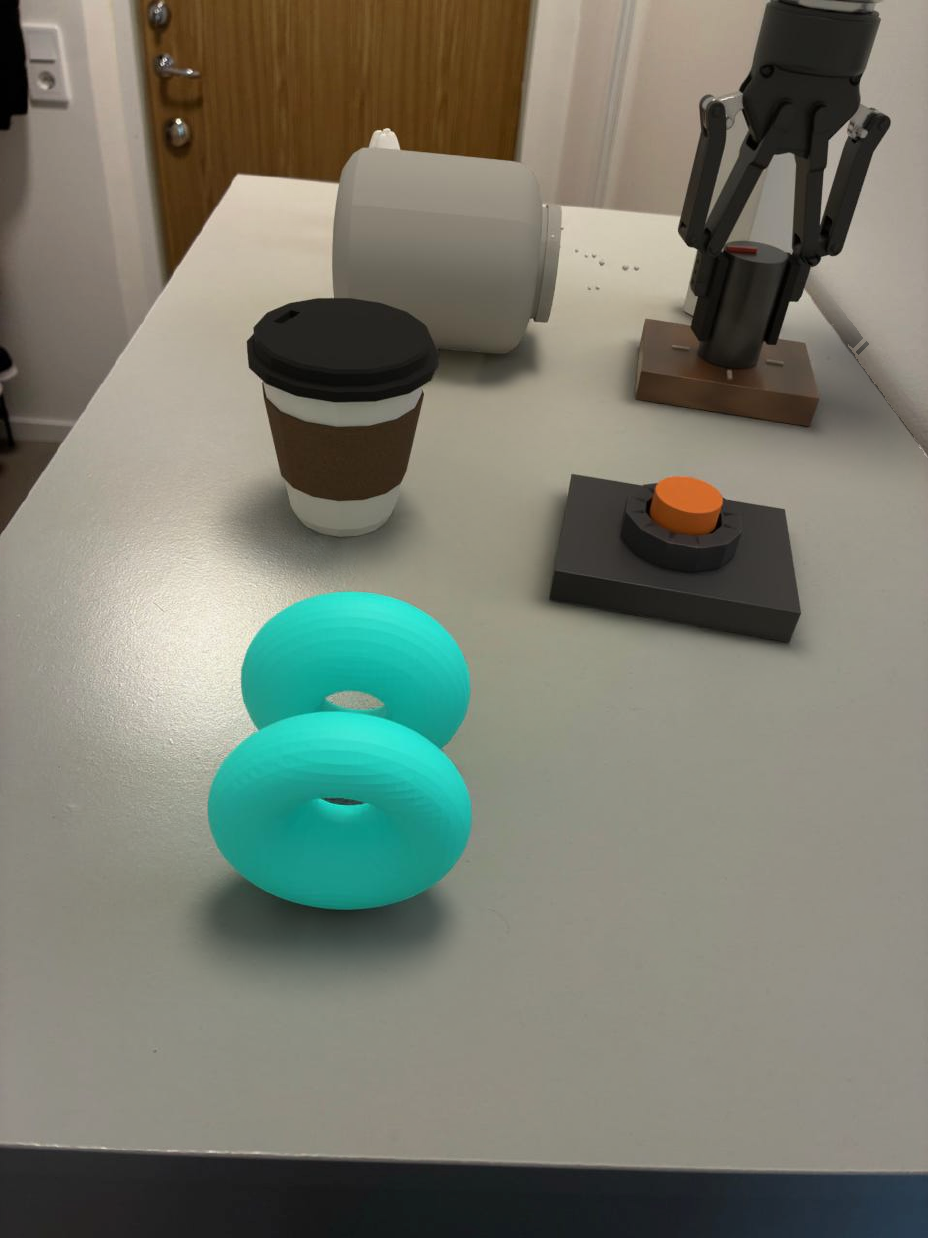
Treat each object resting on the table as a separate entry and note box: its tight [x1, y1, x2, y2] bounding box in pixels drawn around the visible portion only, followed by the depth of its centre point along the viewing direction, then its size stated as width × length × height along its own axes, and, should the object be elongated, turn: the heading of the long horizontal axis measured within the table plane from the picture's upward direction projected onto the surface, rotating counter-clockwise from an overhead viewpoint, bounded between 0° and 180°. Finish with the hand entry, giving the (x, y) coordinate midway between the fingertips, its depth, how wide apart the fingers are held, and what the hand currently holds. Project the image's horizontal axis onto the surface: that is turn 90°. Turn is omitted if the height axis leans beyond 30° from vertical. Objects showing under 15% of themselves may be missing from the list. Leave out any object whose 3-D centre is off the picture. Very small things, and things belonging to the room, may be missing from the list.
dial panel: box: [634, 318, 820, 427], centre depth 80 cm, size 14×11×3 cm
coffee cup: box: [246, 297, 440, 538], centre depth 57 cm, size 11×11×12 cm
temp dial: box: [698, 241, 789, 368], centre depth 76 cm, size 5×5×9 cm
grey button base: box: [549, 473, 802, 643], centre depth 58 cm, size 14×11×4 cm
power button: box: [650, 475, 724, 536], centre depth 56 cm, size 4×4×2 cm
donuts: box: [207, 590, 473, 911], centre depth 39 cm, size 10×10×10 cm
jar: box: [331, 147, 640, 354], centre depth 78 cm, size 19×15×25 cm
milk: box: [682, 110, 796, 317], centre depth 85 cm, size 6×6×22 cm
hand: (732, 335), depth 78 cm, fingers closed on temp dial, 5 cm apart
